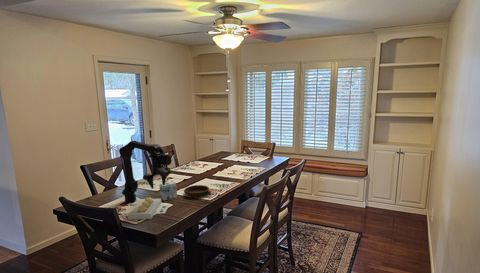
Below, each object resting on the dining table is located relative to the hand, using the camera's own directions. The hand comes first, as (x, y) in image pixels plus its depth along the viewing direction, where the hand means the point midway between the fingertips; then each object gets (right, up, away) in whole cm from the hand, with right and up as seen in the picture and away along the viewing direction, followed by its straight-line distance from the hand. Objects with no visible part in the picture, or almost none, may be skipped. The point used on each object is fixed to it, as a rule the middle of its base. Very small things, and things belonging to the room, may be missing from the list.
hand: (158, 186), depth 197 cm
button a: (-6, -14, -12) cm, 20 cm away
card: (+4, -14, -5) cm, 16 cm away
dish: (+23, -10, +20) cm, 32 cm away
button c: (-7, -12, +1) cm, 14 cm away
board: (-7, -15, -5) cm, 17 cm away
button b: (-7, -13, -6) cm, 16 cm away
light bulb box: (+3, -11, +17) cm, 21 cm away
